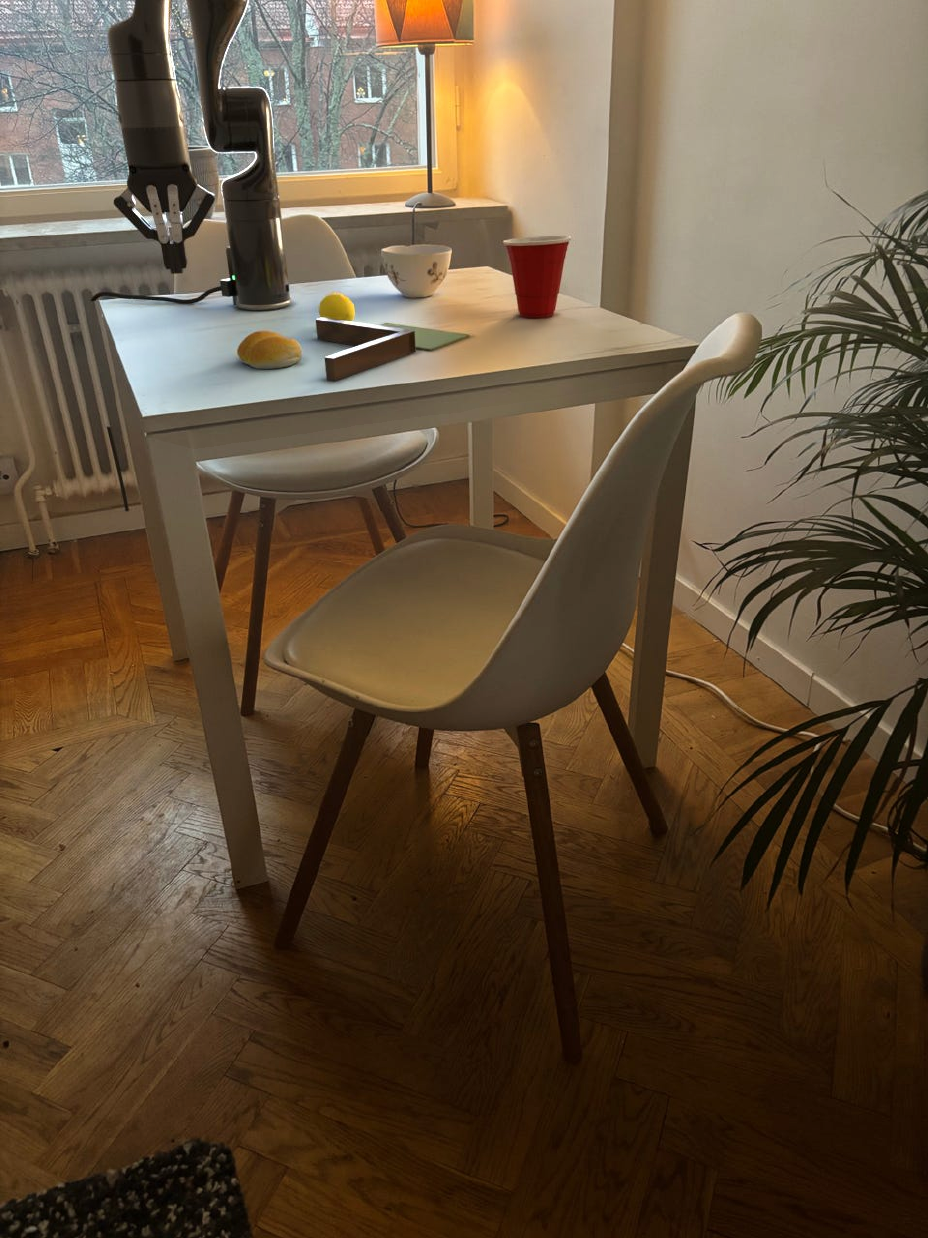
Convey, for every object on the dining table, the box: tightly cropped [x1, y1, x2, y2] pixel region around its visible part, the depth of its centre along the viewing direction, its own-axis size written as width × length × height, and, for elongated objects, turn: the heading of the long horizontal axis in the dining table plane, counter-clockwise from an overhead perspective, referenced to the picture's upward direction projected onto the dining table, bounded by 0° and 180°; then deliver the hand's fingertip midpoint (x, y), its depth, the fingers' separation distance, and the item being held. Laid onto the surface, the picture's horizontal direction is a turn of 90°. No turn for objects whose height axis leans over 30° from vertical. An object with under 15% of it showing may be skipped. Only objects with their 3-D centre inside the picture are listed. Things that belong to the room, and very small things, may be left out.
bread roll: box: [236, 330, 303, 370], centre depth 130 cm, size 8×9×4 cm
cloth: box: [378, 322, 470, 352], centre depth 141 cm, size 16×10×1 cm, turn 56°
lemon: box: [318, 292, 356, 322], centre depth 146 cm, size 7×5×5 cm
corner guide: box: [315, 317, 417, 382], centre depth 131 cm, size 18×18×3 cm
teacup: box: [380, 243, 453, 299], centre depth 168 cm, size 15×12×8 cm
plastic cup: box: [502, 235, 572, 319], centre depth 150 cm, size 11×11×12 cm
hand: (177, 272), depth 123 cm, fingers closed
